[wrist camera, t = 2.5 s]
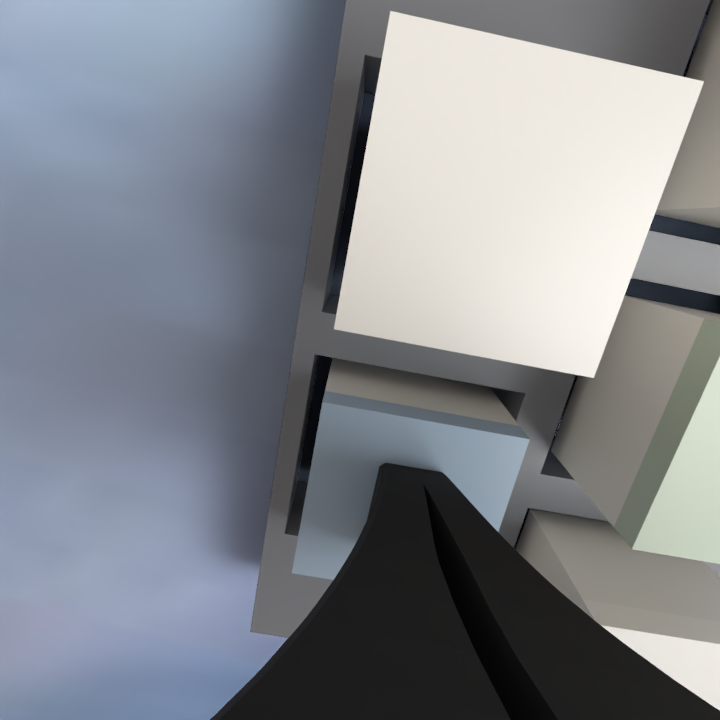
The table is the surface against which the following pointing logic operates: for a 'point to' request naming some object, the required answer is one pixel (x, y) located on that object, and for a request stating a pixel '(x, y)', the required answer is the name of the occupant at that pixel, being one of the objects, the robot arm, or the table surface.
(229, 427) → the table surface
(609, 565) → the cream key
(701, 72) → the terracotta key
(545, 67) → the cream key
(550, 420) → the keypad board
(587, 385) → the sage key
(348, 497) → the blue key
